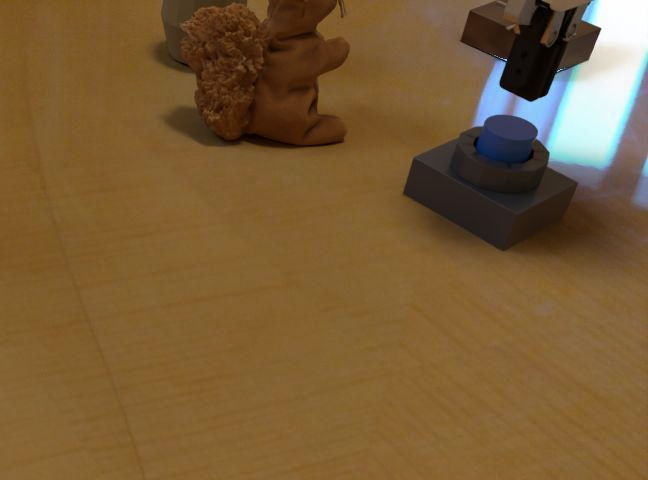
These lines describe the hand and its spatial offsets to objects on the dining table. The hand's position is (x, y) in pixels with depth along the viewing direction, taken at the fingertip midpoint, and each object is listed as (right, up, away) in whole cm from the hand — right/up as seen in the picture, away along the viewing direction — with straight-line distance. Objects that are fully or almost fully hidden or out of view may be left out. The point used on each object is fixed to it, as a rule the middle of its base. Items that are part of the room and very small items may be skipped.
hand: (521, 91), depth 73 cm
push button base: (0, -6, +7) cm, 9 cm away
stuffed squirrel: (-17, +3, +14) cm, 23 cm away
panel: (+11, +16, +27) cm, 34 cm away
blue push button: (0, -3, +4) cm, 5 cm away
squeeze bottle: (-22, +14, +23) cm, 34 cm away
